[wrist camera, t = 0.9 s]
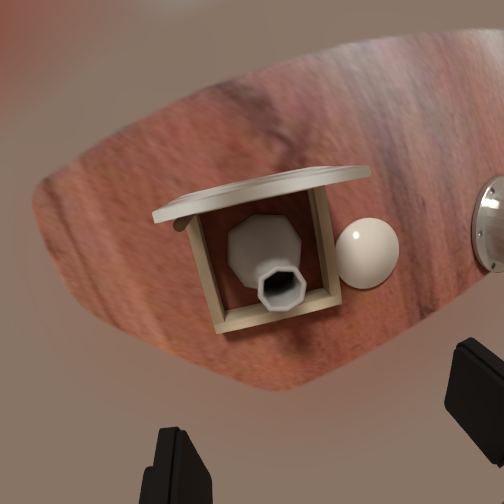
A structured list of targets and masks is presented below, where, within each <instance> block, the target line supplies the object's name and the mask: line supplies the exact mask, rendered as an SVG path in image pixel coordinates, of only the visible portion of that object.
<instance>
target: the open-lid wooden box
mask: <svg viewBox="0 0 504 504" xmlns="http://www.w3.org/2000/svg"><path fill="white" fill-rule="evenodd" d="M370 176H371V171H370V166H320V167H309V168H304V169H298V170H293V171H288V172H283V173H278V174H273V175H268V176H264V177H259V178H254V179H250V180H245V181H241V182H236V183H232V184H227V185H223V186H219V187H215V188H210V189H206V190H202V191H198V192H194V193H190V194H186V195H183V196H181V197H179V198H177V199H175V200H174V201H172V202H170V203H168V204H166V205H165V206H163V207H161V208H159V209H158V210H156V211H154V212H152V215H153V218H154V222H155V223H159V222H163V221H167V220H171V219H175V218H177V219H176V220H175V221H174V223H173V227H174V229H175V230H176V231H178V232H181V231H183V230H184V229H185V228H187V232H188V235H189V239H190V243H191V247H192V251H193V254H194V258H195V262H196V265H197V269H198V272H199V276H200V279H201V283H202V287H203V290H204V293H205V297H206V300H207V304H208V307H209V310H210V314H211V317H212V320H213V324H214V327H215V330H216V334H219V333H224V332H229V331H234V330H238V329H243V328H247V327H252V326H256V325H260V324H265V323H269V322H273V321H277V320H282V319H286V318H290V317H294V316H298V315H302V314H306V313H309V312H313V311H317V310H321V309H325V308H328V307H332V306H336V305H339V304H342V298H341V289H340V281H339V273H338V266H337V258H336V251H335V245H334V238H333V231H332V225H331V219H330V213H329V207H328V201H327V195H326V190H325V185H327V184H332V183H337V182H343V181H348V180H354V179H359V178H365V177H370ZM303 190H307V192H308V198H309V203H310V208H311V214H312V220H313V225H314V231H315V237H316V243H317V249H318V255H319V261H320V268H321V274H322V281H323V288H319V289H315V290H311V291H307V292H305V301H304V302H302V303H301V304H299V305H298V306H296V307H295V308H293V309H292V310H290V311H289V312H269V311H268V310H267V309H266V307H265V306H264V305H263V303H258V304H253V305H249V306H245V307H240V308H236V309H231V310H227V311H224V307H223V304H222V300H221V296H220V293H219V289H218V285H217V282H216V278H215V274H214V270H213V267H212V263H211V259H210V255H209V251H208V248H207V244H206V240H205V236H204V232H203V228H202V224H201V220H200V216H199V214H200V213H204V212H209V211H213V210H217V209H221V208H225V207H230V206H234V205H238V204H243V203H247V202H252V201H256V200H261V199H265V198H270V197H275V196H279V195H284V194H289V193H294V192H298V191H303Z"/></svg>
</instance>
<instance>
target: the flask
mask: <svg viewBox="0 0 504 504" xmlns="http://www.w3.org/2000/svg"><path fill="white" fill-rule="evenodd" d="M301 246H302V240H301V238H300V237H299V235H298V234H297V232H296V231H295V229H294V228H293V226H292V224H291V223H290V221H289V220H288V218H287V217H286V215H267V214H253V215H252V216H250V217H249V218H247V219H246V220H244V221H243V222H241V223H240V224H239V225H237V226H236V227H234V228H233V229H231V230H230V231H228V234H227V264H228V265H229V267H230V268H231V269H232V271H233V272H234V273H235V275H236V276H237V277H238V279H239V280H240V281H241V283H242V284H243V285H244V286H245V287H249V288H255V289H258V298H259V299H260V301H261V302H262V303H263V305H264V306H265V307H266V309H267V310H268V311H269V312H289V311H290V310H292V309H293V308H295V307H296V306H298V305H299V304H301V303H302V302H304V301H305V292H306V281H305V279H304V278H303V276H302V275H301V273H300V272H299V269H300V258H301Z"/></svg>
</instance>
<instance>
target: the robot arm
mask: <svg viewBox="0 0 504 504" xmlns="http://www.w3.org/2000/svg"><path fill="white" fill-rule="evenodd" d="M472 242H473V248H474V252H475V255H476V257H477V260H478V261H479V263H480V264H481V265H482V266H483V267H484V268H485V269H487V270H489V271H491V272H495V273H499V272H503V271H504V175H501V176H496V177H494V178H492V179H491V180H490V181H489V182H488V183H487V184H486V185H485V187H484V188H483V189H482V191H481V193H480V195H479V197H478V200H477V203H476V206H475V210H474V214H473V221H472ZM444 404H445V408H446V410H447V411H448V412H449V413H450V414H451V415H452V417H453V418H454V419H455V420H456V421H457V423H458V424H459V425H460V426H461V427H462V428H463V429H464V431H465V432H466V433H467V434H468V435H469V436H470V438H471V439H472V440H473V441H474V443H475V444H476V445H477V446H478V447H479V449H480V450H481V451H482V452H483V453H484V455H485V456H486V457H487V458H488V459H489V461H490V462H491V463H492V464H497V466H498V467H499V468H501V467H502V466H503V465H504V361H503V360H501V359H500V358H499V357H497V356H496V355H495V354H494V353H492V352H491V351H490V350H489V349H487V348H486V347H485V346H483V345H482V344H481V343H479V342H478V341H477V340H475V339H474V338H471V337H470V338H468V339H466V340H464V341H462V342H460V343H458V344H457V346H456V349H455V350H454V353H453V360H452V366H451V371H450V377H449V382H448V387H447V392H446V396H445V401H444ZM139 504H213V498H212V479H211V476H210V474H209V472H208V470H207V468H206V467H205V465H204V463H203V462H202V460H201V458H200V456H199V454H198V453H197V451H196V449H195V447H194V445H193V444H192V442H191V440H190V438H189V436H188V434H187V432H186V431H185V430H180V429H179V428H178V427H170V428H161V429H160V430H159V434H158V439H157V445H156V451H155V457H154V463H153V466H149V467H147V468H146V469H145V471H144V475H143V481H142V486H141V492H140V499H139ZM502 504H504V502H503V503H502Z"/></svg>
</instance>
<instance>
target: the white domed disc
mask: <svg viewBox="0 0 504 504" xmlns="http://www.w3.org/2000/svg"><path fill="white" fill-rule="evenodd" d="M335 251H336V258H337V266H338V273H339V276H340V278H341V279H342V280H343V281H344V282H346V283H347V284H348V285H350V286H352V287H355V288H359V289H366V288H371V287H374V286H377V285H378V284H380V283H382V282H383V281H384V280H385V279H387V277H388V276H389V275H390V274H391V273H392V271H393V269H394V268H395V265H396V263H397V260H398V255H399V244H398V239H397V237H396V234H395V232H394V231H393V229H392V228H391V227H390V226H389V225H388V224H387V223H385V222H383V221H381V220H379V219H376V218H361V219H358V220H356V221H353V222H352V223H350V224H349V225H348V226H347V227H345V229H344V230H343V231H342V232H341V233H340V235H339V237H338V238H337V241H336V243H335Z"/></svg>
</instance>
